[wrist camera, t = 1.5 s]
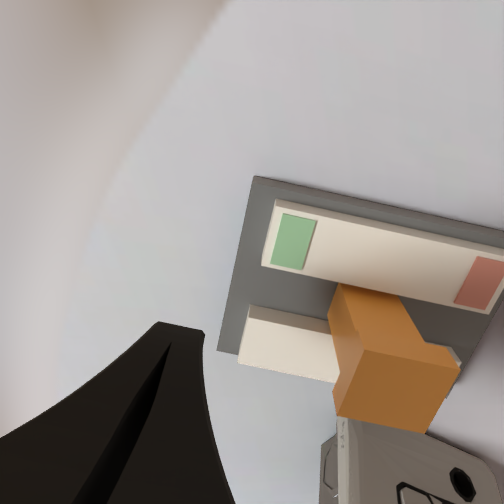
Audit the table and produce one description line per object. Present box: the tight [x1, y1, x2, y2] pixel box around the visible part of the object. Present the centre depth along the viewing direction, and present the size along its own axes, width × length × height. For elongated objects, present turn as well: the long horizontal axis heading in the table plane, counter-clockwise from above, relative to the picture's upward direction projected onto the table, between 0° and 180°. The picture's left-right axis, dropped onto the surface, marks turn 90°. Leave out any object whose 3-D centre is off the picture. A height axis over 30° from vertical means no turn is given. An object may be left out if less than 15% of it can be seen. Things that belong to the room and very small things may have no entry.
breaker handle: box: [327, 282, 461, 434], centre depth 13 cm, size 3×3×5 cm
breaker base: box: [217, 176, 504, 399], centre depth 16 cm, size 8×11×2 cm
